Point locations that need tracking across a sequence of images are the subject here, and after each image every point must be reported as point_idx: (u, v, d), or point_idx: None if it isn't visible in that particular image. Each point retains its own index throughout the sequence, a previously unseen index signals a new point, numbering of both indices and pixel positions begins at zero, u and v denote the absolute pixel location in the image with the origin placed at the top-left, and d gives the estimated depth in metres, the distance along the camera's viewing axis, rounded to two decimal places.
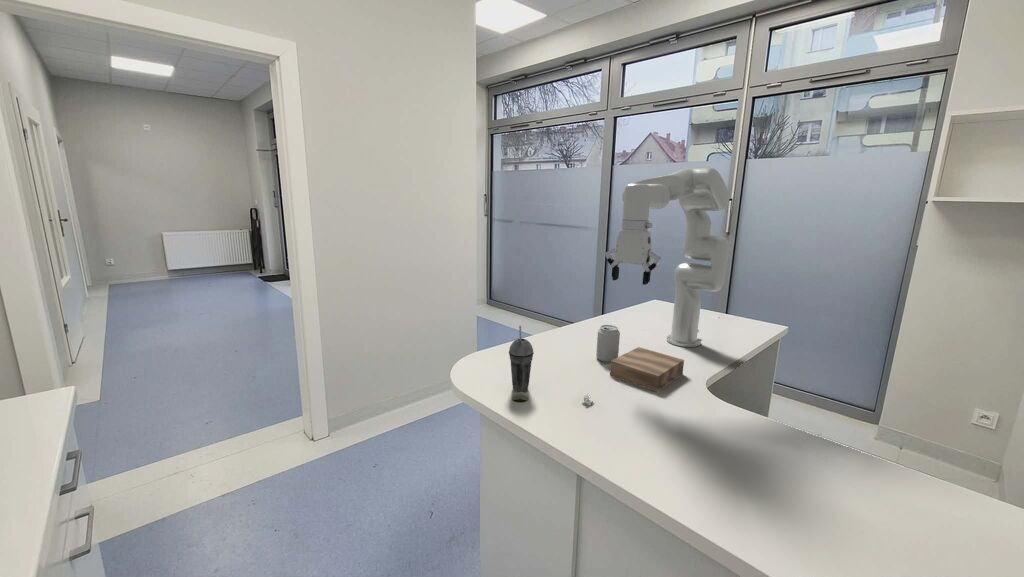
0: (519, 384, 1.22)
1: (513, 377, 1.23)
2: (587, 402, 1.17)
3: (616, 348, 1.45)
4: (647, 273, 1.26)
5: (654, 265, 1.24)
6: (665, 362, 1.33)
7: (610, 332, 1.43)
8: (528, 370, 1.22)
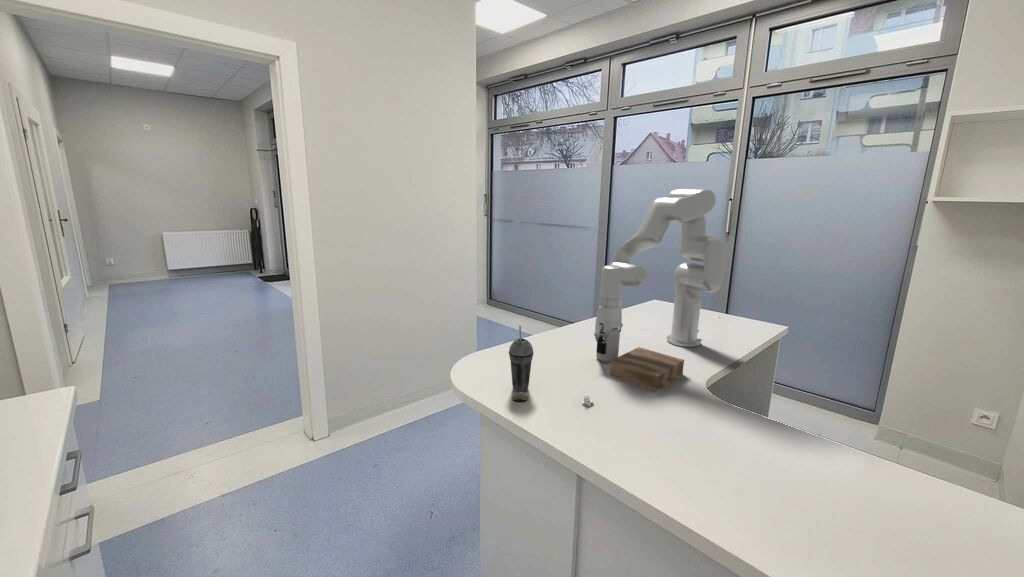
0: (519, 384, 1.22)
1: (513, 377, 1.23)
2: (587, 403, 1.16)
3: (616, 348, 1.45)
4: None
5: (620, 330, 1.51)
6: (665, 362, 1.33)
7: None
8: (528, 370, 1.22)
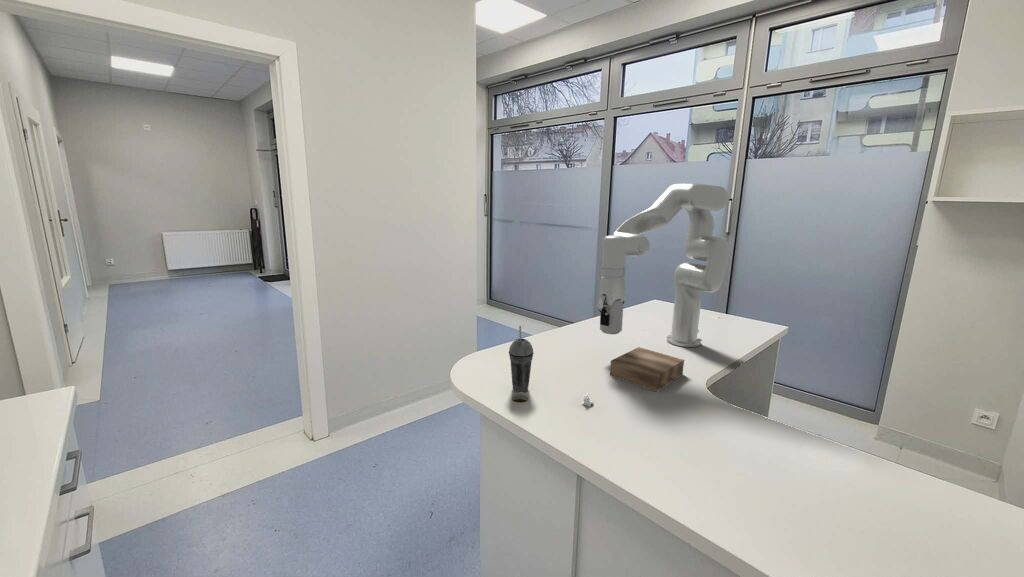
0: (519, 384, 1.22)
1: (513, 377, 1.23)
2: (587, 403, 1.16)
3: (620, 319, 1.43)
4: None
5: (623, 302, 1.49)
6: (665, 362, 1.33)
7: None
8: (528, 370, 1.22)
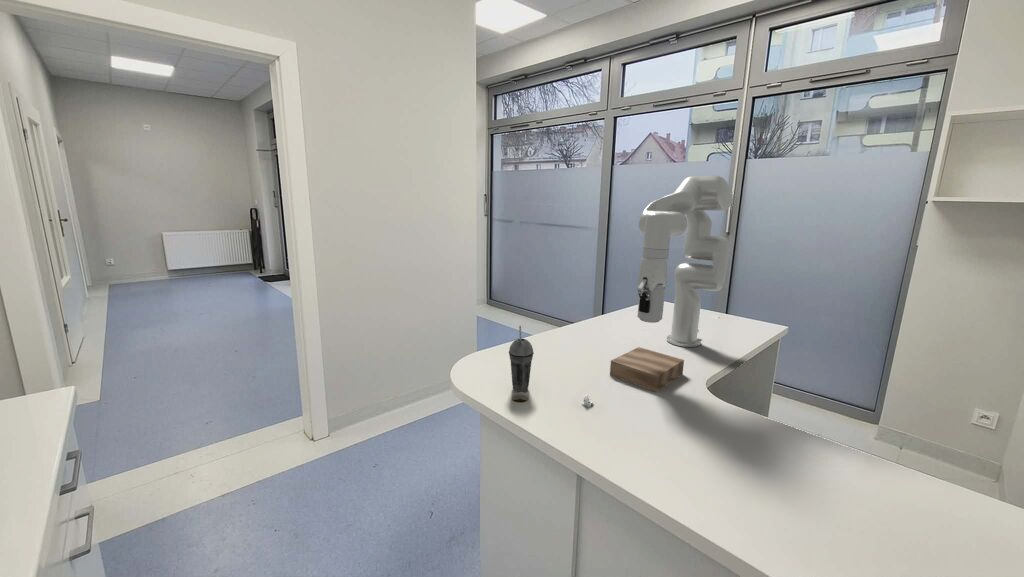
0: (519, 384, 1.22)
1: (513, 377, 1.23)
2: (587, 403, 1.16)
3: (661, 306, 1.29)
4: None
5: None
6: (665, 362, 1.33)
7: (655, 288, 1.27)
8: (528, 370, 1.22)
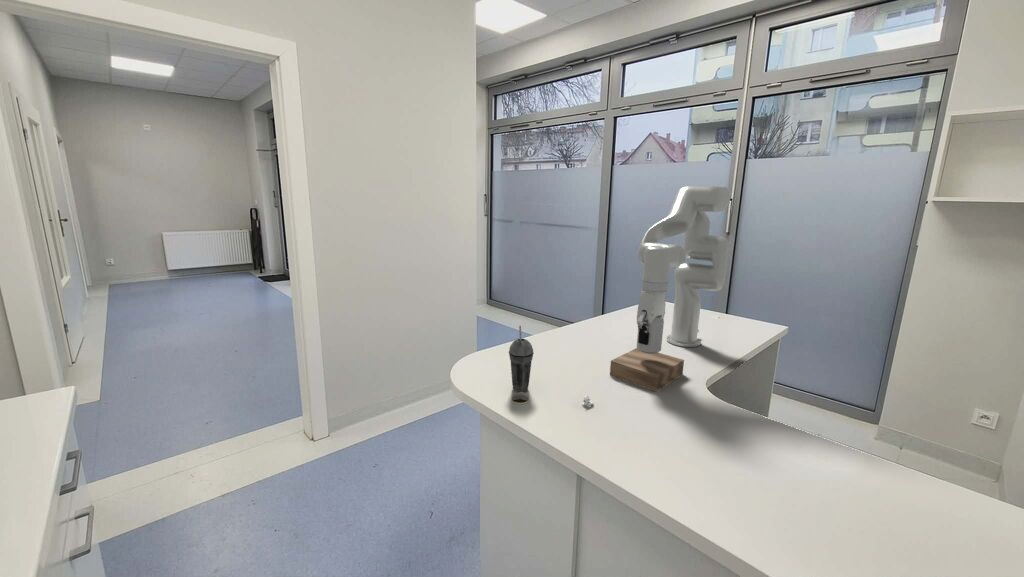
0: (519, 384, 1.22)
1: (513, 377, 1.23)
2: (587, 404, 1.15)
3: (660, 338, 1.31)
4: None
5: None
6: (665, 362, 1.33)
7: None
8: (528, 370, 1.22)
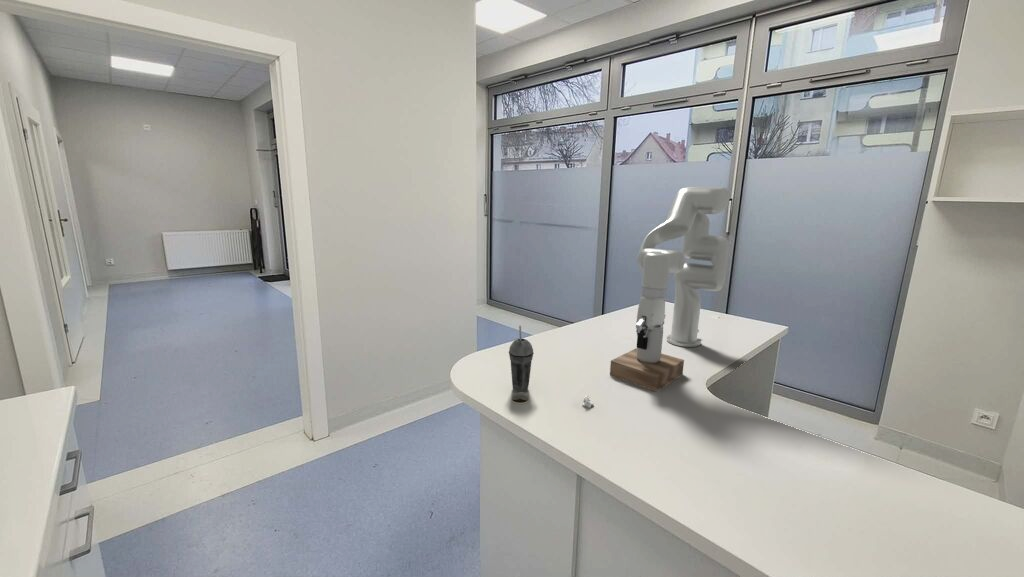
0: (519, 384, 1.22)
1: (513, 377, 1.23)
2: (587, 404, 1.15)
3: (659, 347, 1.32)
4: None
5: (663, 322, 1.37)
6: (665, 362, 1.33)
7: (653, 330, 1.30)
8: (528, 370, 1.22)
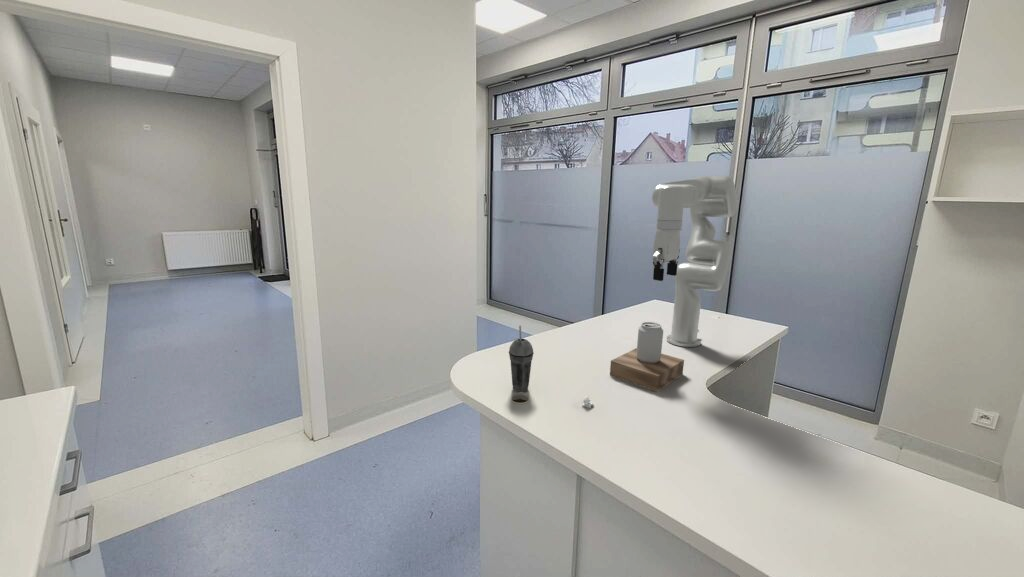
0: (519, 384, 1.22)
1: (513, 377, 1.23)
2: (587, 405, 1.15)
3: (659, 347, 1.32)
4: None
5: (678, 256, 1.42)
6: (665, 362, 1.33)
7: (653, 330, 1.30)
8: (528, 370, 1.22)
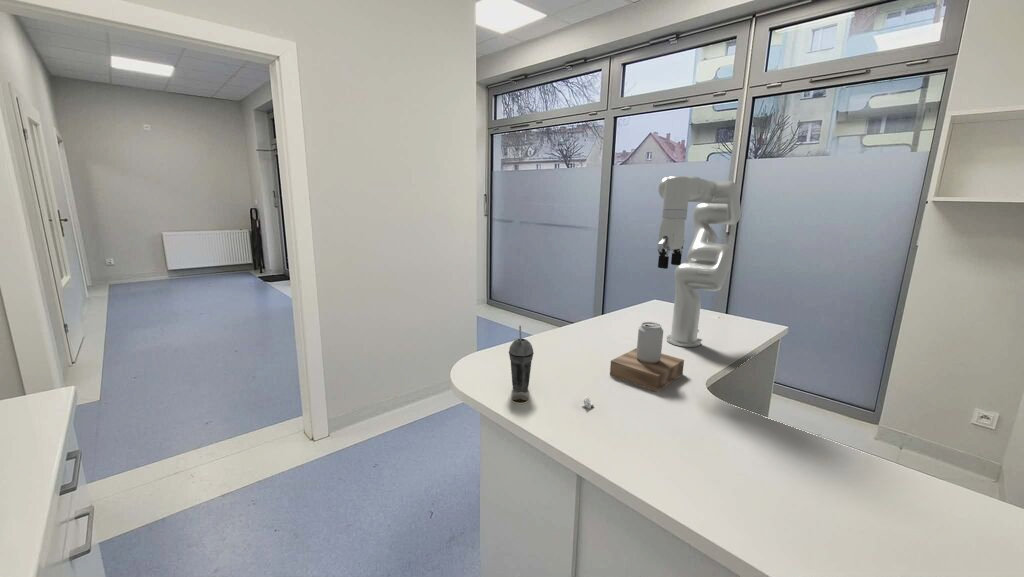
0: (519, 384, 1.22)
1: (513, 377, 1.23)
2: (587, 405, 1.15)
3: (659, 347, 1.32)
4: None
5: (682, 247, 1.45)
6: (665, 362, 1.33)
7: (653, 330, 1.30)
8: (528, 370, 1.22)
